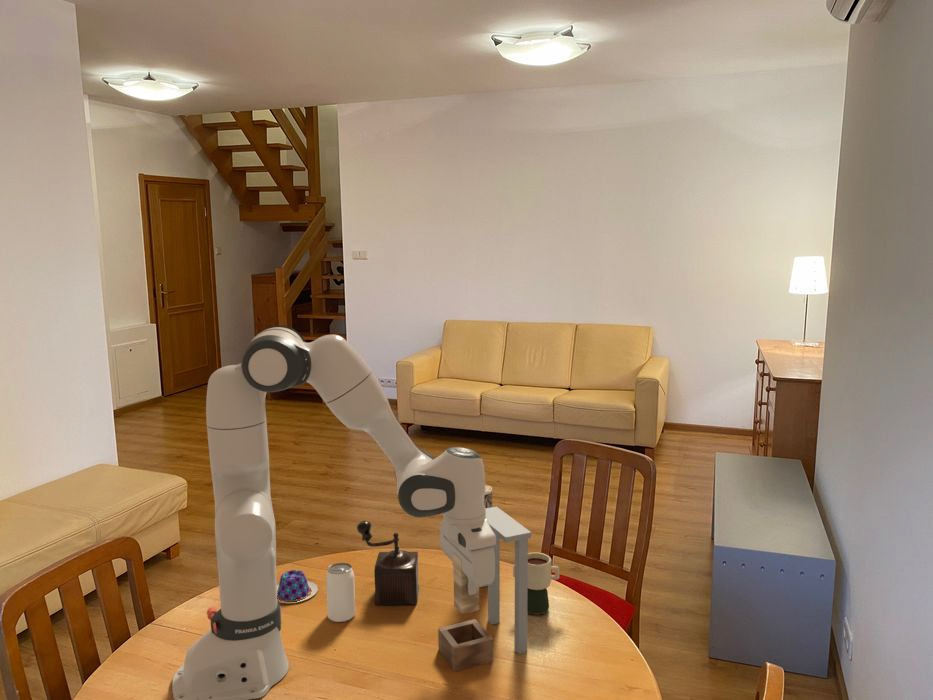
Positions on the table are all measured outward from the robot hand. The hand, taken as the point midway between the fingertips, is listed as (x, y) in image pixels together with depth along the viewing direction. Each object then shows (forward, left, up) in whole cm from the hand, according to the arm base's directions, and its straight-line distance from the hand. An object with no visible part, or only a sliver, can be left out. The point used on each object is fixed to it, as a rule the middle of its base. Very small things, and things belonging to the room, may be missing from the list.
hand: (465, 587), depth 147 cm
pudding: (-29, +43, -16) cm, 54 cm away
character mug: (+23, +10, -16) cm, 29 cm away
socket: (0, 0, -15) cm, 15 cm away
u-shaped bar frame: (+10, +3, -15) cm, 18 cm away
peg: (0, 0, -5) cm, 5 cm away
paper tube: (+17, +29, -16) cm, 37 cm away
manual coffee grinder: (-7, +32, -16) cm, 36 cm away
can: (-20, +27, -16) cm, 37 cm away
